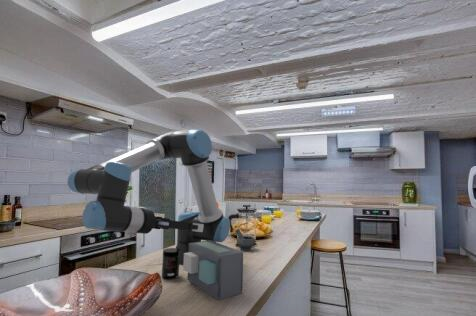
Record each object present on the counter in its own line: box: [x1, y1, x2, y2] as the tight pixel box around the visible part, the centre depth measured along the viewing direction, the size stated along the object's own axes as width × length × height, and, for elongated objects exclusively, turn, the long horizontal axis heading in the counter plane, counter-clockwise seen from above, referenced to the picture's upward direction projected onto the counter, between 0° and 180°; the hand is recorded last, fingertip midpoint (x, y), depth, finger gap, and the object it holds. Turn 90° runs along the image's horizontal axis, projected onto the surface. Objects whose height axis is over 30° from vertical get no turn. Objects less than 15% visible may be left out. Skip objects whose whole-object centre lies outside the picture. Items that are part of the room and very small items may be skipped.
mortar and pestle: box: [234, 227, 255, 253], centre depth 154 cm, size 11×9×12 cm
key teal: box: [199, 260, 217, 284], centre depth 93 cm, size 6×6×6 cm
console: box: [186, 240, 244, 301], centre depth 101 cm, size 10×22×14 cm, turn 37°
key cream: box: [182, 252, 199, 274], centre depth 103 cm, size 6×6×6 cm
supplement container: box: [161, 247, 180, 280], centre depth 109 cm, size 7×7×10 cm
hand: (189, 226), depth 100 cm, fingers open, 13 cm apart
